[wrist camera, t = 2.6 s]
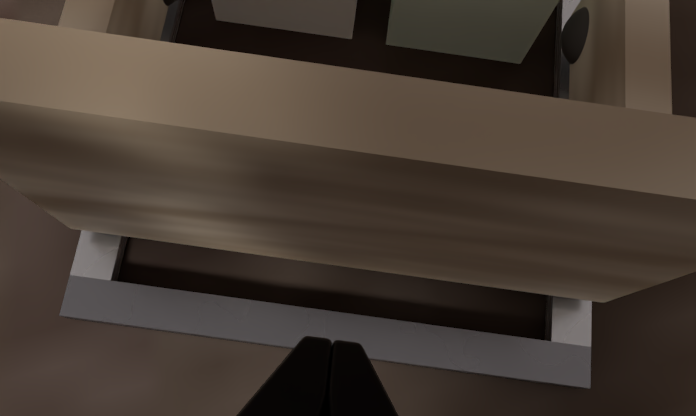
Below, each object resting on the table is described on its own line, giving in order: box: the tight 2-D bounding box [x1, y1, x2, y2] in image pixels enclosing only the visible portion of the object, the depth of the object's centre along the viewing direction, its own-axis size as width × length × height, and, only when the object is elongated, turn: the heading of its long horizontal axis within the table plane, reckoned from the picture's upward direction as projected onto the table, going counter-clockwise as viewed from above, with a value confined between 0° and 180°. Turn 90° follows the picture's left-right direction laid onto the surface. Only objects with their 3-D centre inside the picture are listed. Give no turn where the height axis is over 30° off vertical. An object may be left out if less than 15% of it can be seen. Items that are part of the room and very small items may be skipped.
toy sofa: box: [0, 0, 696, 303], centre depth 13 cm, size 8×14×8 cm, turn 83°
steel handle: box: [59, 0, 592, 389], centre depth 18 cm, size 16×13×1 cm
